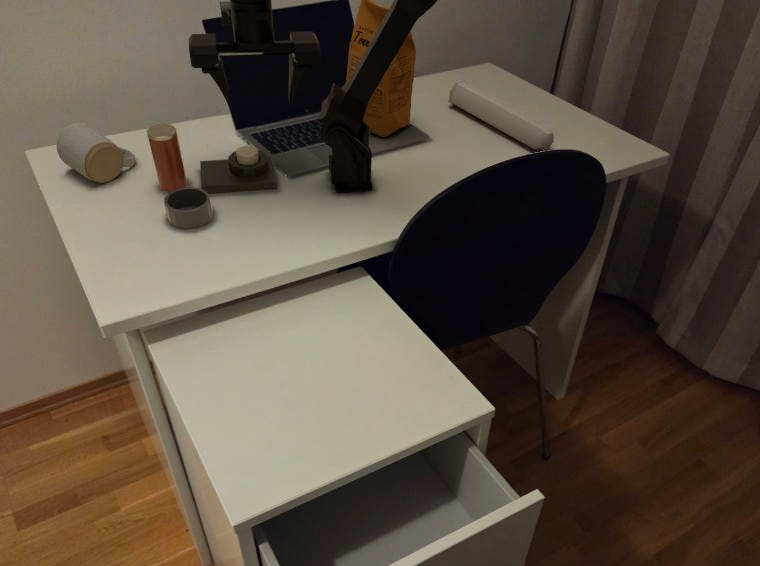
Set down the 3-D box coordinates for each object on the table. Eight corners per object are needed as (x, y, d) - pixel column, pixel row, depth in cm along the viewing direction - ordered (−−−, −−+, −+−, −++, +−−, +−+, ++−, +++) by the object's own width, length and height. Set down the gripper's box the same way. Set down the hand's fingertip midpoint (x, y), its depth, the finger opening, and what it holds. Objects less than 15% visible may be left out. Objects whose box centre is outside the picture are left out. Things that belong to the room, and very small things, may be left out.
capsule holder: (212, 204, 103) (209, 185, 101) (213, 229, 99) (210, 209, 96) (168, 207, 102) (164, 188, 100) (168, 232, 98) (163, 213, 95)
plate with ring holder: (271, 165, 113) (270, 147, 110) (276, 191, 107) (274, 172, 105) (201, 170, 110) (198, 151, 108) (203, 196, 105) (199, 177, 102)
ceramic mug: (93, 192, 104) (79, 148, 98) (63, 173, 107) (49, 130, 101) (148, 168, 110) (138, 126, 104) (118, 151, 113) (107, 109, 107)
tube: (563, 130, 120) (470, 80, 132) (548, 128, 117) (453, 78, 129) (551, 156, 123) (460, 106, 135) (536, 156, 120) (444, 104, 131)
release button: (258, 154, 109) (257, 144, 108) (259, 165, 107) (258, 155, 105) (236, 155, 108) (235, 146, 107) (238, 166, 106) (236, 157, 105)
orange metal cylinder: (191, 181, 108) (180, 125, 100) (182, 195, 105) (170, 138, 97) (165, 178, 108) (152, 122, 100) (156, 192, 105) (142, 135, 97)
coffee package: (374, 104, 131) (378, -15, 115) (417, 127, 126) (427, 6, 110) (337, 117, 126) (336, -4, 110) (380, 142, 121) (385, 18, 105)
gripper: (309, -23, 96) (312, 81, 107) (180, -22, 92) (198, 85, 104) (320, 3, 89) (322, 111, 100) (180, 5, 85) (200, 117, 96)
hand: (260, 105), depth 100 cm, fingers open, 9 cm apart
